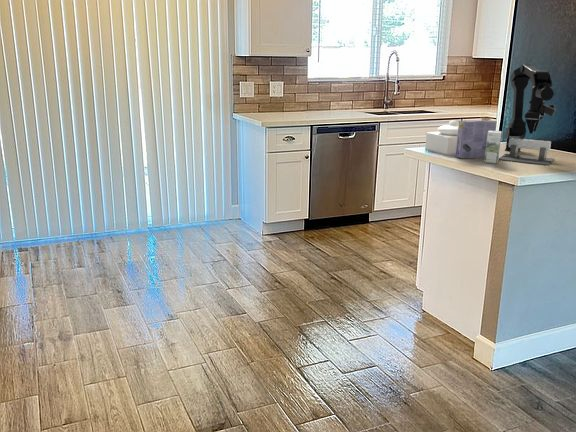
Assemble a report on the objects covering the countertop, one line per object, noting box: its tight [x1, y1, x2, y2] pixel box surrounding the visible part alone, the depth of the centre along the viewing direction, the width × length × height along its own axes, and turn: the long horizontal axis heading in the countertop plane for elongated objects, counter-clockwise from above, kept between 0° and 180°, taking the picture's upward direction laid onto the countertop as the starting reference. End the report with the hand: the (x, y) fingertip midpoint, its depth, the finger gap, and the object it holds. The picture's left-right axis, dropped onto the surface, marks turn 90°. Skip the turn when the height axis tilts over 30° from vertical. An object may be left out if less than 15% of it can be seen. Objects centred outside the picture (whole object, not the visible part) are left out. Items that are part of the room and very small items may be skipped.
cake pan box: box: [454, 120, 498, 159], centre depth 265 cm, size 19×5×18 cm, turn 106°
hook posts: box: [501, 145, 555, 163], centre depth 264 cm, size 22×8×6 cm, turn 57°
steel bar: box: [508, 138, 552, 152], centre depth 263 cm, size 18×4×4 cm, turn 57°
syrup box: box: [483, 130, 503, 165], centre depth 253 cm, size 6×6×14 cm
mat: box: [498, 156, 552, 166], centre depth 258 cm, size 22×7×1 cm, turn 57°
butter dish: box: [424, 119, 459, 156], centre depth 282 cm, size 18×18×16 cm
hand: (532, 132), depth 262 cm, fingers open, 9 cm apart
